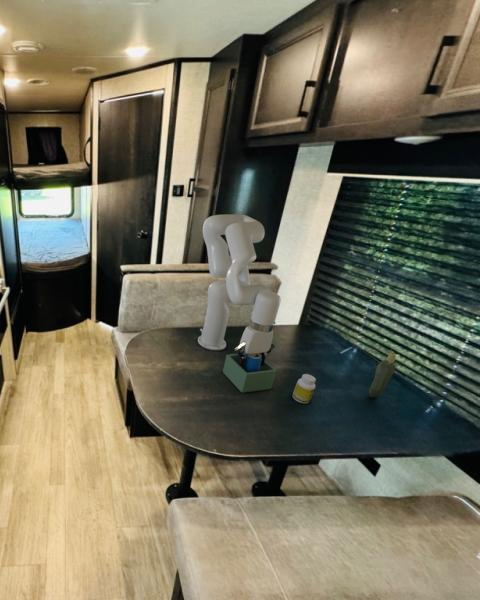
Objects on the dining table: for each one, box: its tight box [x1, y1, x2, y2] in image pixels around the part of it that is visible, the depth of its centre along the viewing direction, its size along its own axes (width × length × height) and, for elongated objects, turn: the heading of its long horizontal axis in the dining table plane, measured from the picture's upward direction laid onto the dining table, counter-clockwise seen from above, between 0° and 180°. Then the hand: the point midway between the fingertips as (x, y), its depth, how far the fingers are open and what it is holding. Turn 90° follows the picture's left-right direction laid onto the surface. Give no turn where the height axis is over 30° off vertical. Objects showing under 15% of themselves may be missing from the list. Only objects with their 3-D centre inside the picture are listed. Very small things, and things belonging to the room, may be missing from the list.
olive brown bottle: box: [368, 349, 397, 398], centre depth 111 cm, size 4×4×20 cm
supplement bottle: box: [291, 373, 317, 404], centre depth 113 cm, size 5×5×10 cm
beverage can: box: [243, 352, 262, 373], centre depth 122 cm, size 6×6×12 cm
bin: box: [222, 352, 278, 394], centre depth 123 cm, size 13×13×9 cm
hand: (250, 364), depth 121 cm, fingers open, 7 cm apart
